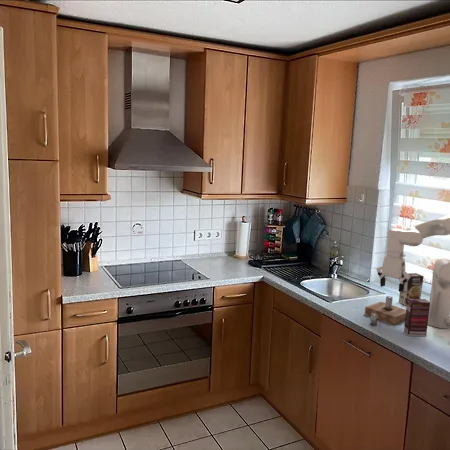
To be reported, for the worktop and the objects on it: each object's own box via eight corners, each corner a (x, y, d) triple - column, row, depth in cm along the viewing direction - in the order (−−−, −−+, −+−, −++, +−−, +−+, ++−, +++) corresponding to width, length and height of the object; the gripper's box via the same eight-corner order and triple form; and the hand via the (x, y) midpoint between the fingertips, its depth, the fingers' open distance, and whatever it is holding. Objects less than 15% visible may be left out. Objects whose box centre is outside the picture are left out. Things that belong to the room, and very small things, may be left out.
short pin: (378, 324, 218) (379, 314, 217) (374, 326, 216) (375, 316, 215) (372, 322, 220) (373, 312, 219) (368, 324, 218) (370, 314, 218)
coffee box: (405, 306, 247) (409, 276, 244) (398, 301, 253) (401, 273, 250) (420, 305, 249) (424, 276, 246) (412, 301, 255) (416, 272, 253)
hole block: (409, 318, 228) (410, 311, 227) (394, 325, 219) (395, 317, 218) (380, 309, 240) (380, 301, 239) (364, 314, 231) (365, 306, 230)
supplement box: (421, 332, 212) (426, 298, 209) (426, 336, 207) (431, 302, 204) (402, 331, 212) (407, 298, 209) (407, 336, 207) (411, 301, 204)
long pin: (391, 317, 229) (393, 297, 227) (388, 318, 227) (390, 298, 226) (385, 315, 231) (388, 295, 230) (382, 316, 230) (384, 296, 228)
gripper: (415, 256, 220) (412, 291, 223) (382, 249, 233) (379, 283, 236) (407, 258, 215) (404, 294, 218) (374, 251, 228) (371, 285, 231)
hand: (391, 288), depth 227 cm, fingers open, 9 cm apart
